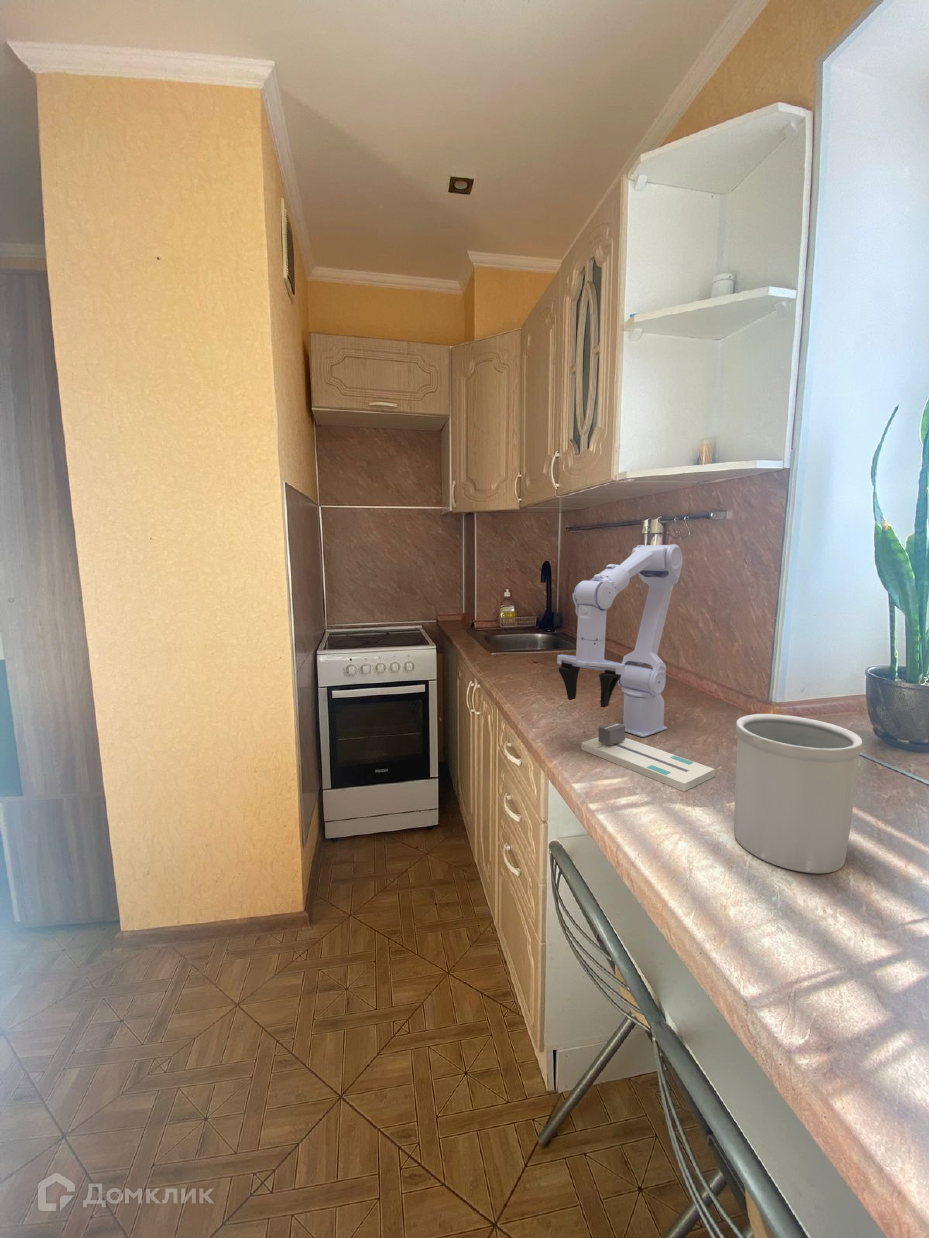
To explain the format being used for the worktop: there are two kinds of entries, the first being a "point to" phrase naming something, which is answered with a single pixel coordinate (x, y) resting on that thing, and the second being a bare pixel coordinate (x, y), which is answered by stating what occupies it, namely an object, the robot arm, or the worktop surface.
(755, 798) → the utensil holder
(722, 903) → the worktop surface
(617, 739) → the fader
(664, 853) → the worktop surface
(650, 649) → the robot arm
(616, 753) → the mixer panel
